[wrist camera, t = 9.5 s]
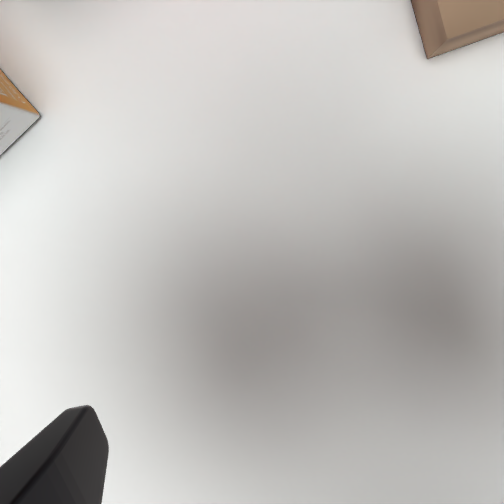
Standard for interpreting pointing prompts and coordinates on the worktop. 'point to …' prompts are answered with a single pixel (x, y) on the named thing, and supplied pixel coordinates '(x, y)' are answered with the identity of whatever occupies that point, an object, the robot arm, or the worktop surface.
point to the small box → (13, 113)
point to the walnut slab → (456, 22)
